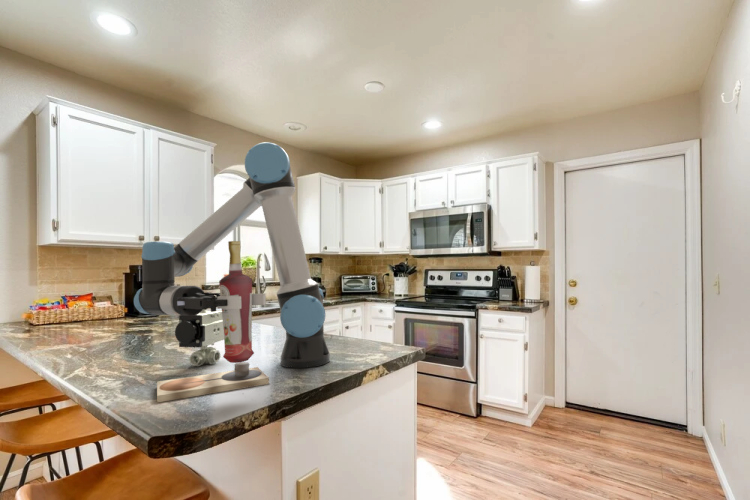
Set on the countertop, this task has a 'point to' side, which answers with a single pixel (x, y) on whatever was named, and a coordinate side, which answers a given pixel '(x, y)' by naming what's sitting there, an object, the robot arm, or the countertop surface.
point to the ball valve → (201, 335)
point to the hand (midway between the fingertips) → (252, 300)
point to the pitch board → (211, 383)
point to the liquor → (237, 320)
